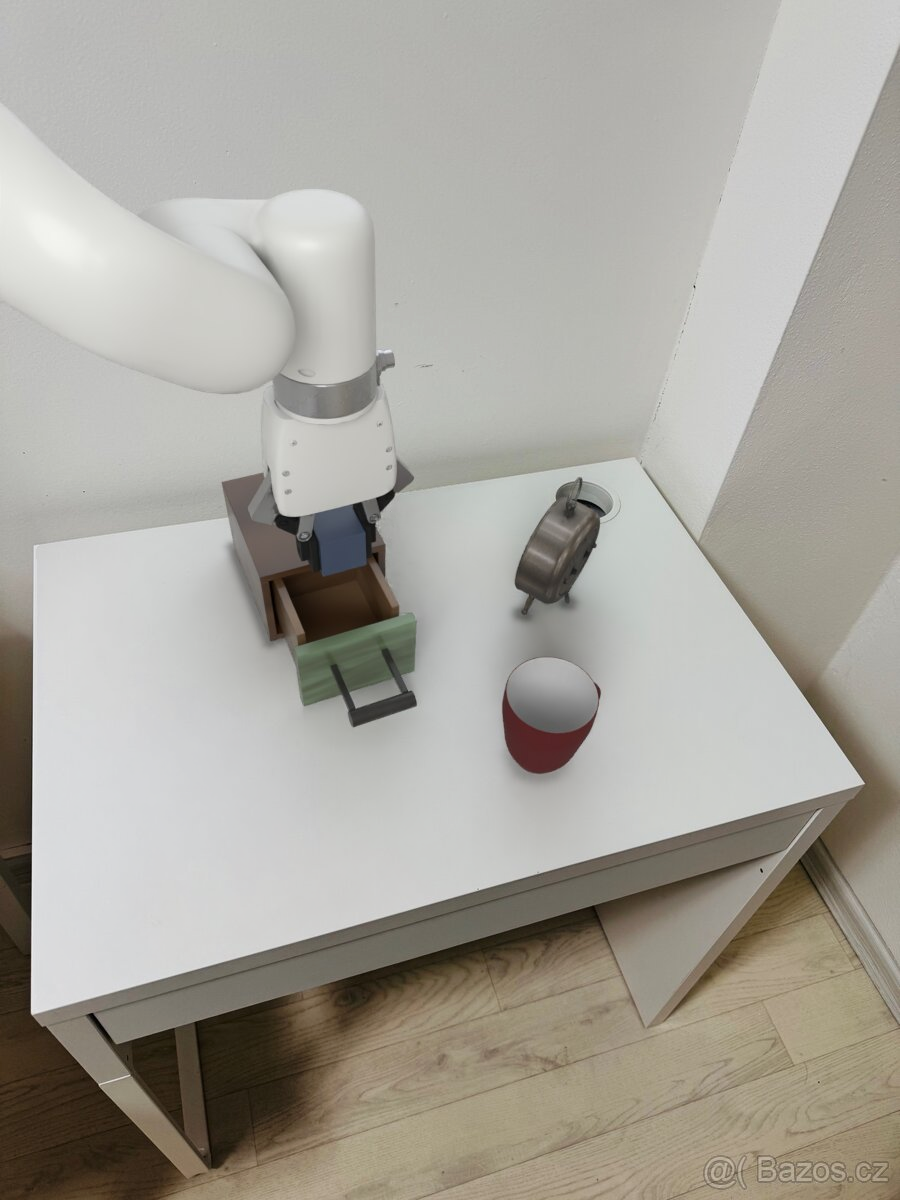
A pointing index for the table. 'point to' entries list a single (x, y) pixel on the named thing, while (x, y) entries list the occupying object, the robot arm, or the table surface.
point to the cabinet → (267, 548)
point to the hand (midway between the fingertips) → (337, 553)
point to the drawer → (346, 637)
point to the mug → (548, 712)
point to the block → (339, 540)
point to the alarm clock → (557, 550)
